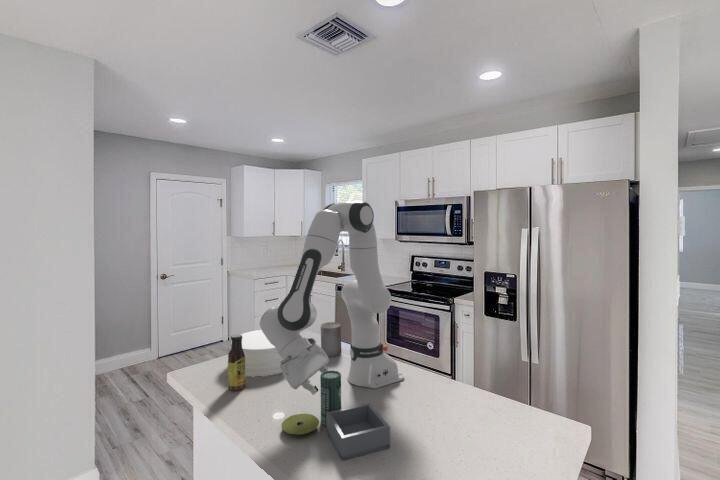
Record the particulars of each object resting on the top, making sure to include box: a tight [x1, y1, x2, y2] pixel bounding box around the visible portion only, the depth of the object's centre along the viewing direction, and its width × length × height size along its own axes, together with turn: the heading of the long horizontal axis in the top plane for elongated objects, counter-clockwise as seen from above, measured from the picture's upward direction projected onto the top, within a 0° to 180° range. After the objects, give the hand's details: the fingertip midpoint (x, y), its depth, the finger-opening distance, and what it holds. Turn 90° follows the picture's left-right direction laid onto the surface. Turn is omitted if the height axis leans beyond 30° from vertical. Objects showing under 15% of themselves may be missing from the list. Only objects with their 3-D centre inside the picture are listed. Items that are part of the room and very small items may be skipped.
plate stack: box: [230, 329, 283, 378], centre depth 159 cm, size 28×28×12 cm
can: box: [319, 370, 342, 427], centre depth 112 cm, size 6×6×15 cm
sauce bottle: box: [227, 334, 246, 391], centre depth 135 cm, size 6×6×20 cm
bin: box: [326, 402, 391, 462], centre depth 102 cm, size 14×14×6 cm
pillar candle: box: [320, 321, 342, 357], centre depth 171 cm, size 10×10×15 cm
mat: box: [281, 413, 320, 435], centre depth 108 cm, size 11×11×2 cm
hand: (323, 386), depth 112 cm, fingers open, 8 cm apart
